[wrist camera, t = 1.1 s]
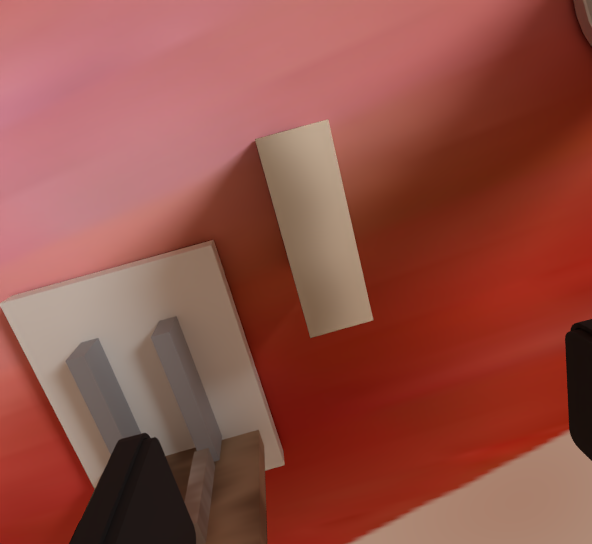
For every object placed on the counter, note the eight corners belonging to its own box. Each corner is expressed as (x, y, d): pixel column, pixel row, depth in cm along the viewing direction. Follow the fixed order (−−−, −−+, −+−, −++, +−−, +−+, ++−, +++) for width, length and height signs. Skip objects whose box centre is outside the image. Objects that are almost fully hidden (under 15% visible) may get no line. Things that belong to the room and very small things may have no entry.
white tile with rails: (213, 239, 29) (207, 254, 25) (283, 451, 35) (287, 490, 31) (11, 295, 29) (-25, 319, 25) (114, 499, 35) (96, 544, 31)
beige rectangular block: (300, 126, 28) (328, 119, 17) (332, 257, 30) (373, 320, 20) (254, 139, 28) (255, 139, 17) (291, 269, 30) (310, 338, 20)
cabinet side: (252, 413, 32) (252, 567, 20) (264, 445, 33) (269, 611, 21) (93, 457, 32) (2, 638, 20) (109, 489, 33) (30, 679, 21)
